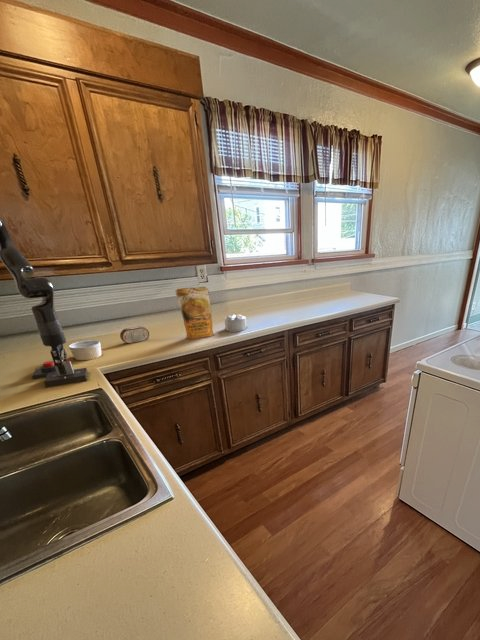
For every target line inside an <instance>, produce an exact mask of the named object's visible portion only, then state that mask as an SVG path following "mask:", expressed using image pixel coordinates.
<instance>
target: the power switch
mask: <svg viewBox="0 0 480 640" xmlns="http://www.w3.org/2000/svg"><path fill="white" fill-rule="evenodd" d="M53 372H56V369H55V366H52V367H47V368H46V367H44V365H43V364H42V365H41V366H39V367H38V368H35V370H34V371H33V373H32V375H31V377H32V380H39V379H45V378H46V376H47V374H48V373H53Z"/></svg>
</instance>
